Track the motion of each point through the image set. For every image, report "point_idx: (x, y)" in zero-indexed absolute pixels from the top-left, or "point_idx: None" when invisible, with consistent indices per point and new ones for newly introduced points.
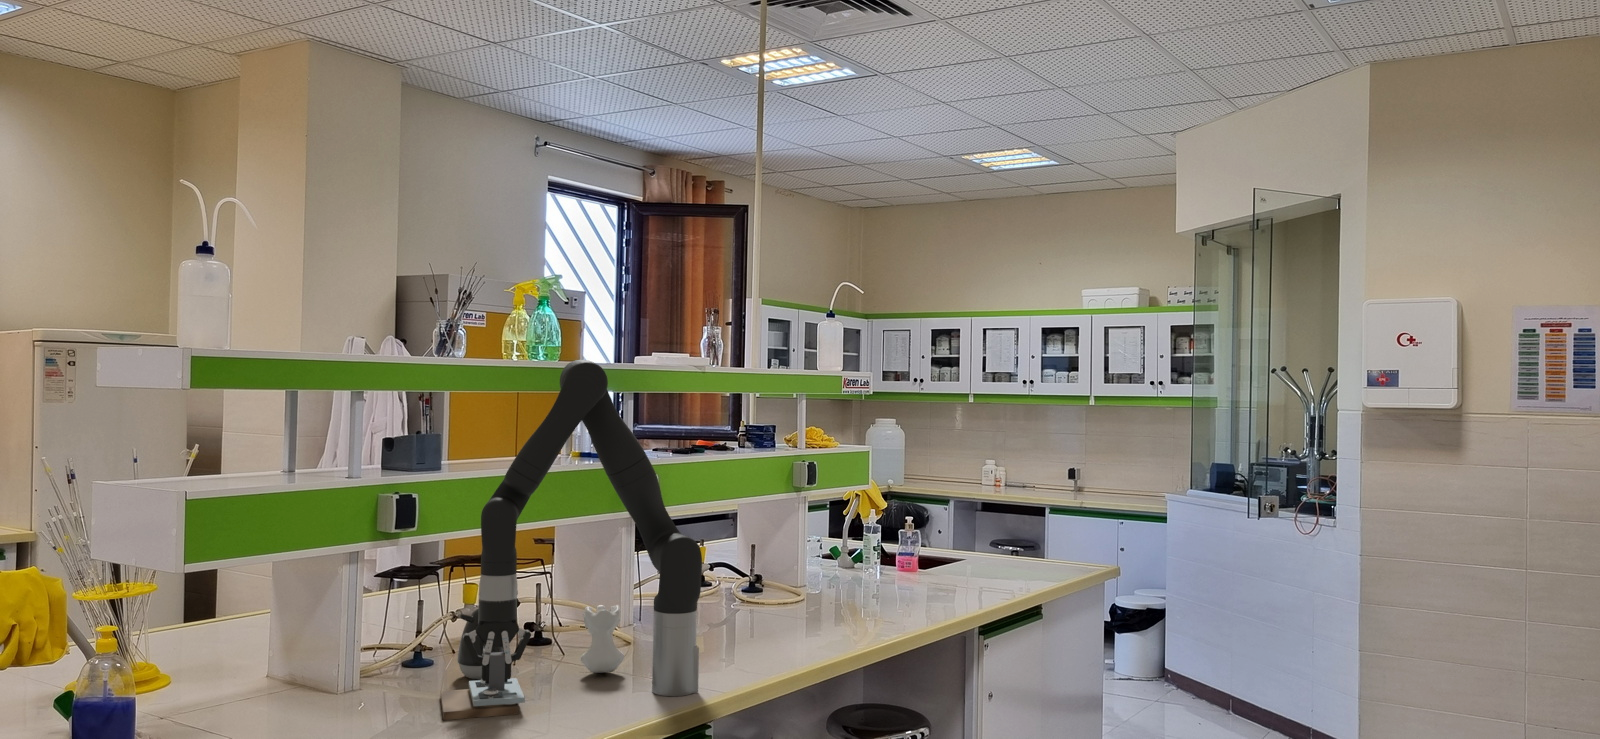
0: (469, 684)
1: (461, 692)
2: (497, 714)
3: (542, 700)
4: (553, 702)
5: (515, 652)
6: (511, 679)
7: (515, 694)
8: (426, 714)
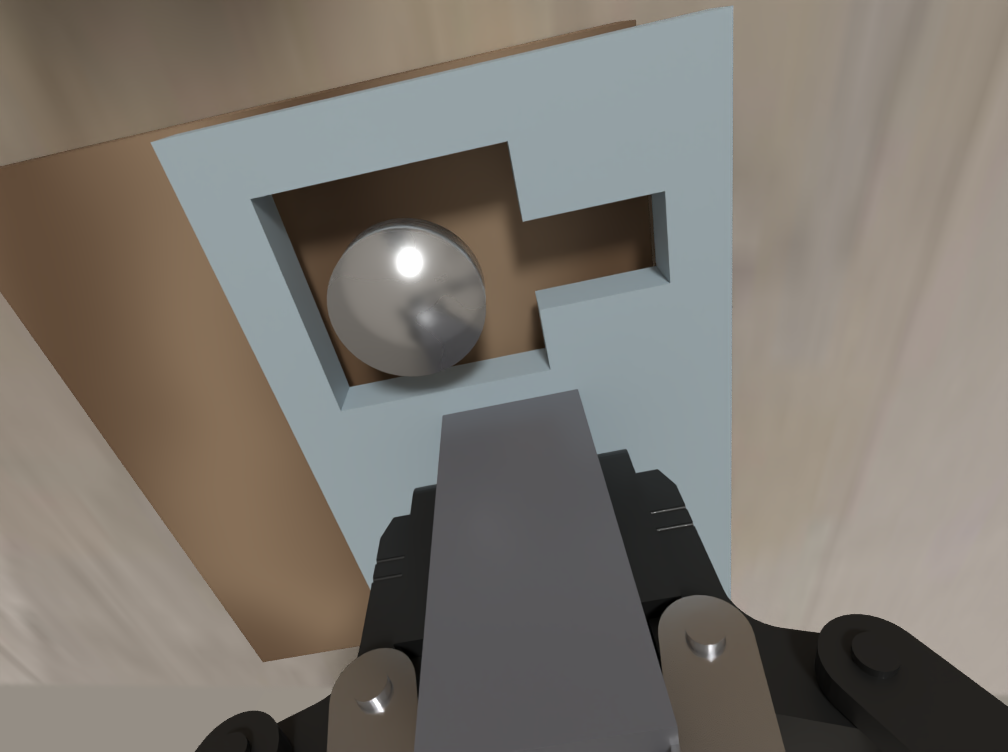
0: (217, 271)
1: (175, 257)
2: None
3: (859, 291)
4: (921, 347)
5: (872, 727)
6: (665, 95)
7: None
8: (127, 541)
